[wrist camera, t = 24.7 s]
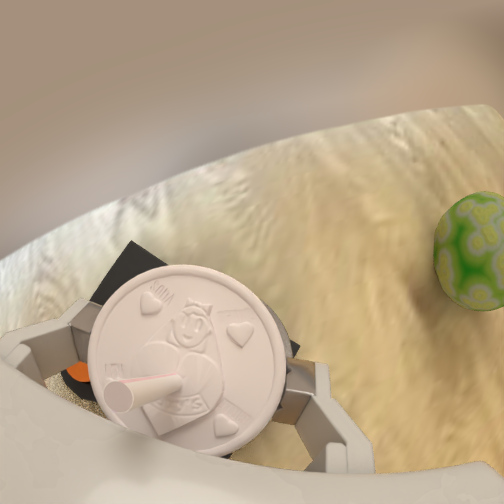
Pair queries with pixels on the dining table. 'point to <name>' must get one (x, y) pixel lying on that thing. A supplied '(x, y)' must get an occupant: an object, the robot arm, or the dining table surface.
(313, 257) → the dining table surface
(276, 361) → the smoothie
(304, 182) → the dining table surface
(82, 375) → the tare button
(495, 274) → the decorative ball
